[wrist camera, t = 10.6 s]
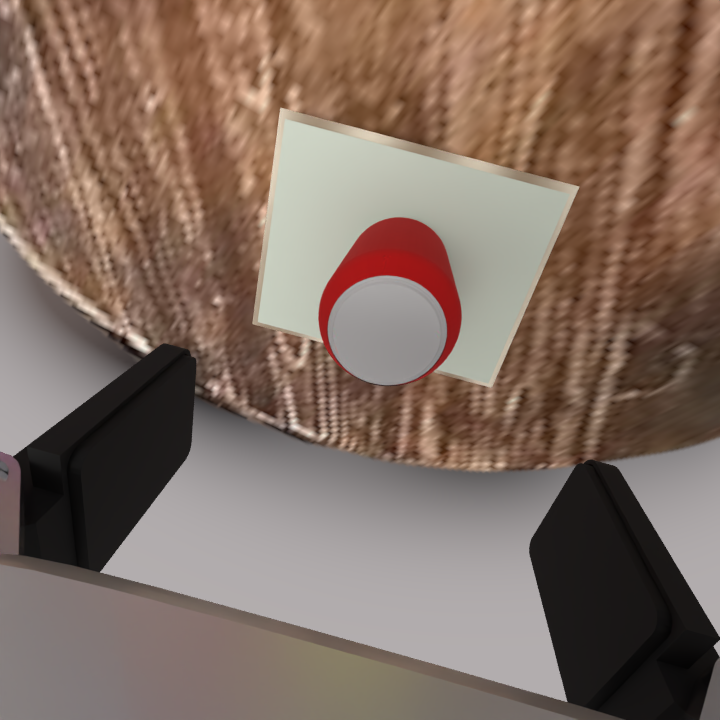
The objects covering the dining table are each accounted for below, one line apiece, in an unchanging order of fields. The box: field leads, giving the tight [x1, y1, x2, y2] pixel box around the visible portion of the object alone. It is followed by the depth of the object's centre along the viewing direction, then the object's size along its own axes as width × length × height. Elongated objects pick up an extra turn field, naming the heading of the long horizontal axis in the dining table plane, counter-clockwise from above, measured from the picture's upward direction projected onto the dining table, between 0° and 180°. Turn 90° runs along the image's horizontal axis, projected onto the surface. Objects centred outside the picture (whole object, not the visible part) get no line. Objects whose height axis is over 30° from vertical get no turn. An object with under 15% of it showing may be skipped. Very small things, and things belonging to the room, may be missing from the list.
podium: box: [252, 108, 579, 388], centre depth 30 cm, size 18×14×4 cm
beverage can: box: [318, 217, 462, 386], centre depth 23 cm, size 6×6×12 cm
